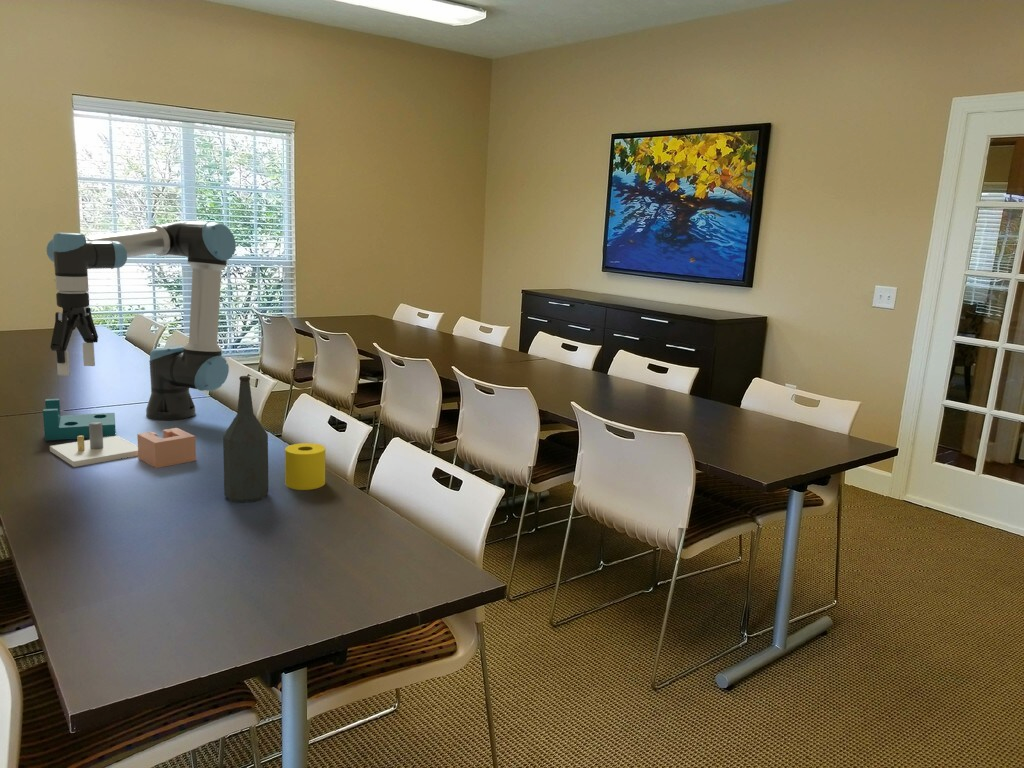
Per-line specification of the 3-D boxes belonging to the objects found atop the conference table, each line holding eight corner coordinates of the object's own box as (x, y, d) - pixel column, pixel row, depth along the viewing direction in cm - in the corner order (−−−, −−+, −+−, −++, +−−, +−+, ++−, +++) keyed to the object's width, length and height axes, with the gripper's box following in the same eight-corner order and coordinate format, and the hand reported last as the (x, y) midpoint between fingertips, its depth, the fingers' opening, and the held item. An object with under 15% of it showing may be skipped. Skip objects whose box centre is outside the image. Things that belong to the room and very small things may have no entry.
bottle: (227, 505, 182) (224, 381, 176) (221, 491, 190) (219, 373, 184) (272, 500, 186) (270, 379, 180) (264, 487, 195) (263, 371, 189)
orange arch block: (195, 460, 213) (195, 436, 211) (155, 468, 204) (154, 442, 203) (177, 451, 220) (177, 427, 218) (138, 458, 212) (137, 433, 210)
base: (117, 440, 227) (116, 412, 225) (143, 454, 215) (142, 425, 213) (50, 451, 213) (48, 421, 212) (74, 466, 202) (72, 435, 200)
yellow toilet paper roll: (332, 480, 202) (332, 446, 201) (310, 492, 193) (311, 456, 191) (300, 475, 206) (300, 441, 204) (277, 486, 196) (277, 450, 194)
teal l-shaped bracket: (45, 445, 221) (42, 410, 218) (48, 432, 230) (45, 399, 227) (115, 440, 229) (114, 407, 226) (115, 428, 238) (113, 396, 235)
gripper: (81, 287, 216) (85, 361, 220) (31, 295, 191) (37, 378, 195) (108, 288, 216) (112, 362, 220) (62, 296, 192) (67, 379, 196)
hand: (77, 370), depth 208 cm, fingers open, 13 cm apart
